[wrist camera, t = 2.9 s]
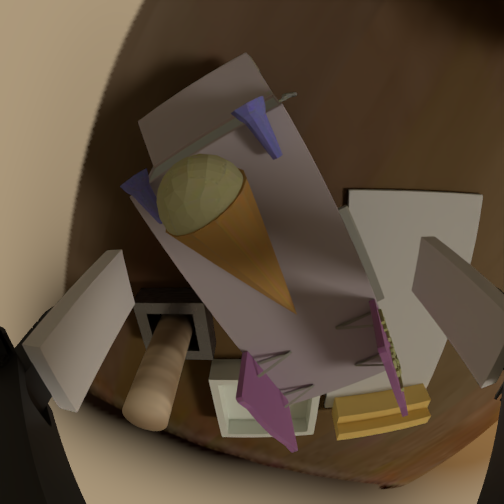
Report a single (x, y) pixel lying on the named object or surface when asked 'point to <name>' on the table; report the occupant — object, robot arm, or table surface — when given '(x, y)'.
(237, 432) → the tray
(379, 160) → the table surface
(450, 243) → the mat
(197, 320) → the socket
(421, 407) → the block
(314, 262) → the toy vehicle
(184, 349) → the pin
